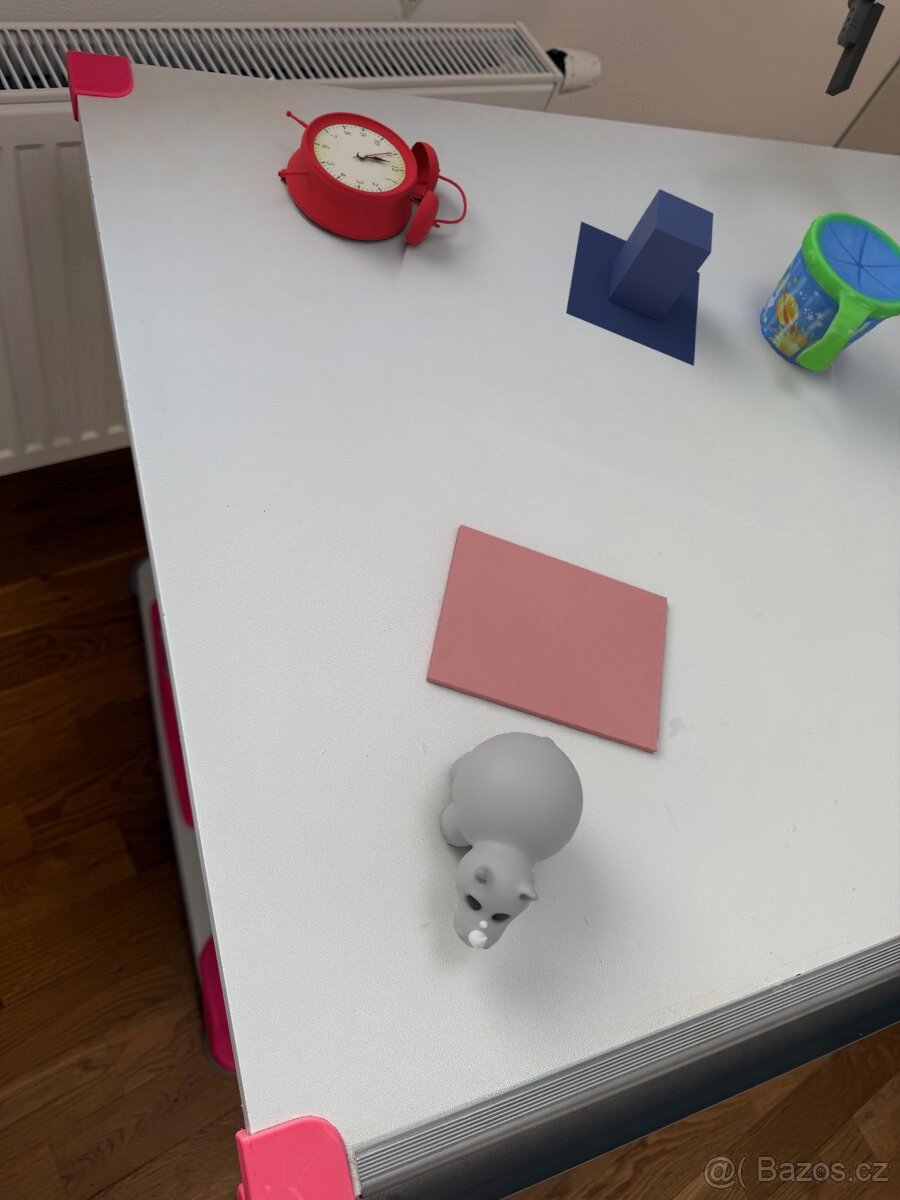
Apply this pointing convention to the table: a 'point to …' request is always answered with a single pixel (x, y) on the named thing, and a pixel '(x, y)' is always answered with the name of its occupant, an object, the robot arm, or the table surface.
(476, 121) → the table surface
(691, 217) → the navy block
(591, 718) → the rose mat
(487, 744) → the chubby cartoon animal
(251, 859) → the table surface
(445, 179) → the alarm clock
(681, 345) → the navy mat
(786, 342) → the snack cup
